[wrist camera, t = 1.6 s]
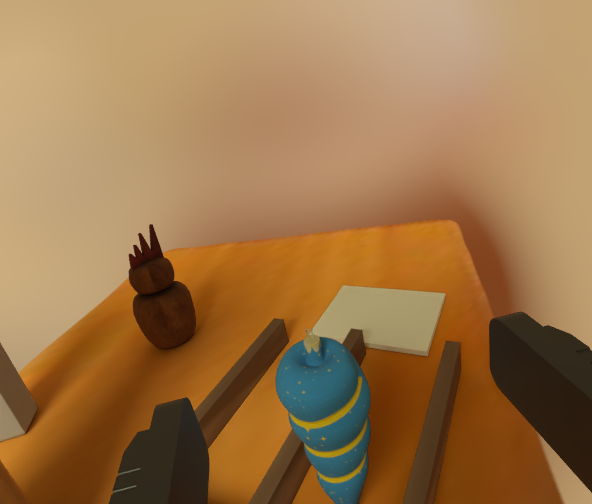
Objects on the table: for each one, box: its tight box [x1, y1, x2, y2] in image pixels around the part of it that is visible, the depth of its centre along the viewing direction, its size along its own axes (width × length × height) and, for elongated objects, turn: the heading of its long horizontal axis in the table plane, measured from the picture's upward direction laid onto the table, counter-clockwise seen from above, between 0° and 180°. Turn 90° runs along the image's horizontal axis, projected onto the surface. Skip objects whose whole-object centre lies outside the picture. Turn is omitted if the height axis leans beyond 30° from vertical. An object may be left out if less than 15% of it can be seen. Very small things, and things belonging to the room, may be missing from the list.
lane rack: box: [194, 318, 461, 504], centre depth 33 cm, size 20×23×3 cm
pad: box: [309, 285, 446, 357], centre depth 48 cm, size 13×11×1 cm
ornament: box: [276, 329, 371, 504], centre depth 25 cm, size 5×5×15 cm
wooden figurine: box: [129, 224, 196, 349], centre depth 49 cm, size 7×6×15 cm
